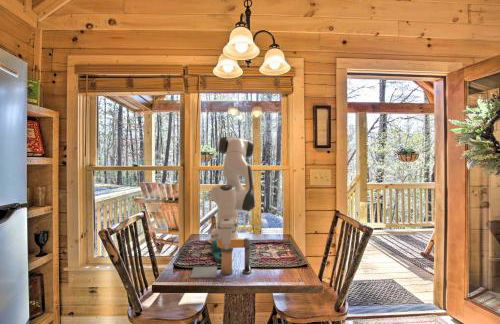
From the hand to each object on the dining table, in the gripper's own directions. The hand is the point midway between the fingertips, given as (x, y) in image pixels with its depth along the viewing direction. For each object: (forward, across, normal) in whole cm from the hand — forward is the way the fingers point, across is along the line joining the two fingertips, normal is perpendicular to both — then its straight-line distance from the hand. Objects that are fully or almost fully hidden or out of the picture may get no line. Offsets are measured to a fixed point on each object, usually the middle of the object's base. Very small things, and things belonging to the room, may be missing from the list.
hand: (226, 248), depth 135 cm
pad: (+14, -4, -11) cm, 18 cm away
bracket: (+14, -27, -4) cm, 31 cm away
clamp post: (+14, -4, +10) cm, 18 cm away
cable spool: (+14, -4, 0) cm, 14 cm away
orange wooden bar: (+1, -5, +4) cm, 6 cm away
